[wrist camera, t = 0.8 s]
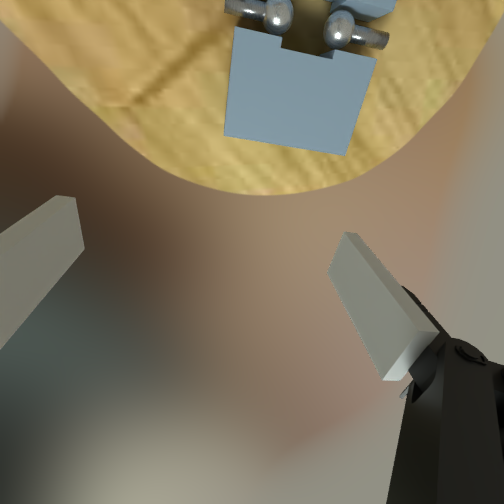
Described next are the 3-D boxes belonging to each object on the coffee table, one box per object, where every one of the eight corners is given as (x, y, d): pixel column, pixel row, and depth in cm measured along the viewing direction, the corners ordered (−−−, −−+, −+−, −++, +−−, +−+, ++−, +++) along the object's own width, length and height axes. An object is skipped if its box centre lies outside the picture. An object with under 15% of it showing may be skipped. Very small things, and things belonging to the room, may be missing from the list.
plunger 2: (324, 10, 26) (334, 2, 24) (383, 25, 27) (399, 19, 25) (315, 47, 28) (324, 43, 25) (372, 60, 29) (386, 58, 26)
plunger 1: (227, -15, 25) (227, -26, 22) (293, 2, 26) (300, -7, 23) (223, 26, 26) (223, 20, 24) (286, 41, 28) (292, 36, 25)
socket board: (246, -90, 24) (251, -129, 19) (389, -47, 26) (421, -73, 22) (224, 129, 33) (223, 135, 29) (330, 147, 35) (344, 155, 31)
